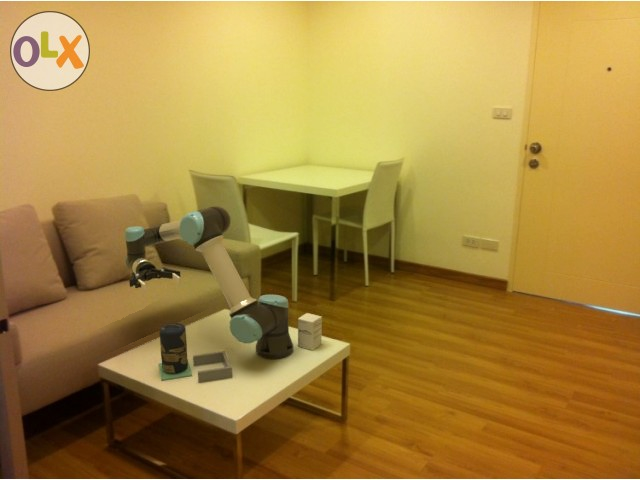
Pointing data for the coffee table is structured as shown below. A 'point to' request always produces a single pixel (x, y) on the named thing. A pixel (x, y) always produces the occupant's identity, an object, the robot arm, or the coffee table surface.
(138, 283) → the robot arm
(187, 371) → the mat
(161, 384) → the coffee table surface
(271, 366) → the coffee table surface
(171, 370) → the canister
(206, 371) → the frame
